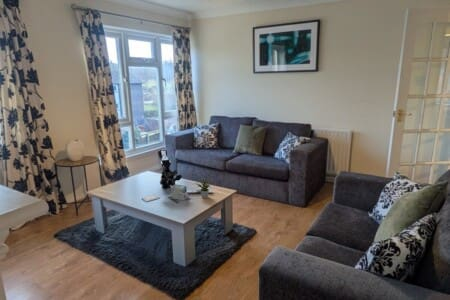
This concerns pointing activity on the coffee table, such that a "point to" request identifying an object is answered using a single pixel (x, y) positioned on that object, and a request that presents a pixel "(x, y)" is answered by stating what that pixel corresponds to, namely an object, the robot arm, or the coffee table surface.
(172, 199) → the label frame
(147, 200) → the label plate
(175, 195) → the light bulb box
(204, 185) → the house plant
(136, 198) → the coffee table surface
